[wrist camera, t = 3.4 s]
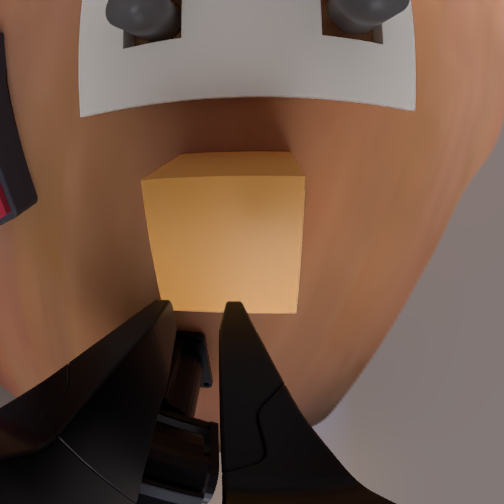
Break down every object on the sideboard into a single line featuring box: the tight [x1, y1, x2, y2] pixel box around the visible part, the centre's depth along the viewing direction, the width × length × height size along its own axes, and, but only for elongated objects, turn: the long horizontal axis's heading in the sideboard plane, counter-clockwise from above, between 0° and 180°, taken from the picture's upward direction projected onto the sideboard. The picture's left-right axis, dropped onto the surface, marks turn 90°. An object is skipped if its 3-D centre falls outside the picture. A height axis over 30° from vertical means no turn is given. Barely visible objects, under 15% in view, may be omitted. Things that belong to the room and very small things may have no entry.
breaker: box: [327, 0, 410, 34], centre depth 8 cm, size 3×3×4 cm
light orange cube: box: [141, 151, 306, 313], centre depth 14 cm, size 6×6×6 cm
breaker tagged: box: [105, 0, 182, 43], centre depth 10 cm, size 3×3×4 cm
